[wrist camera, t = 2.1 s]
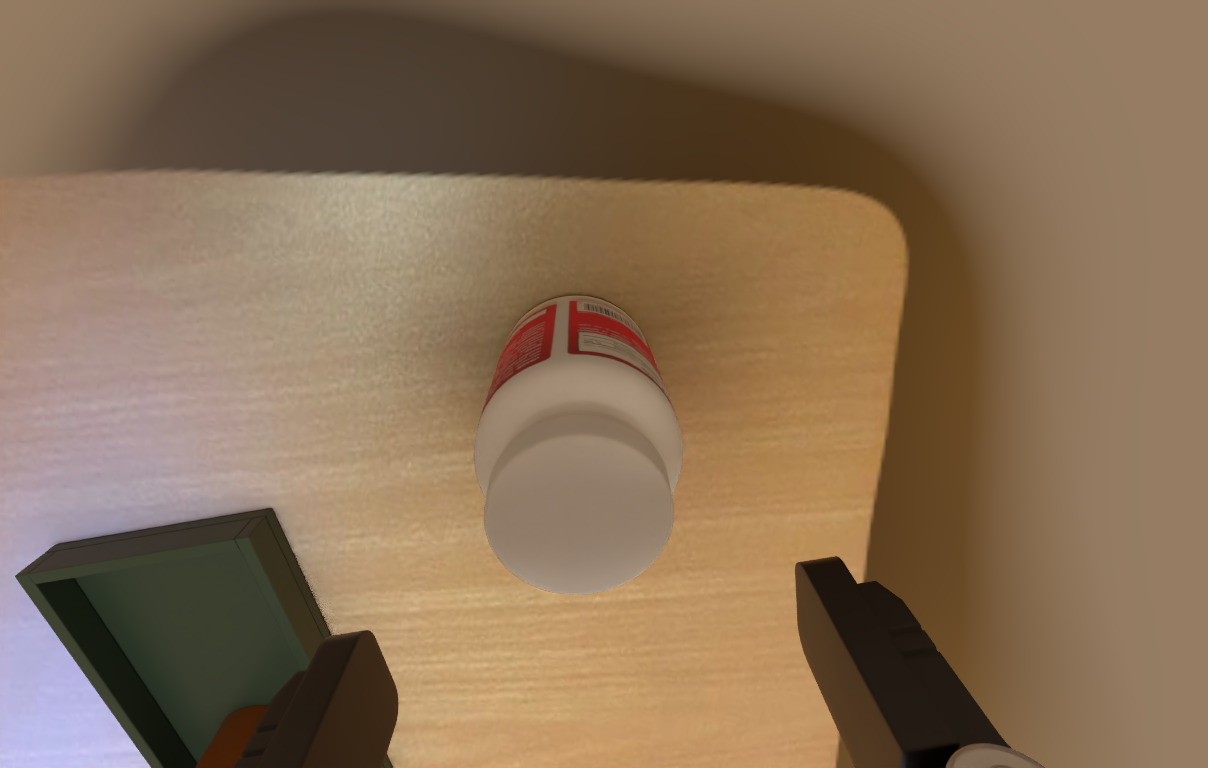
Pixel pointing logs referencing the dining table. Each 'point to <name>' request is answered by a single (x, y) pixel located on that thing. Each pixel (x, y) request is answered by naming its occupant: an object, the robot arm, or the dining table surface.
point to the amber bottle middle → (232, 738)
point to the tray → (181, 624)
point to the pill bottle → (577, 450)
